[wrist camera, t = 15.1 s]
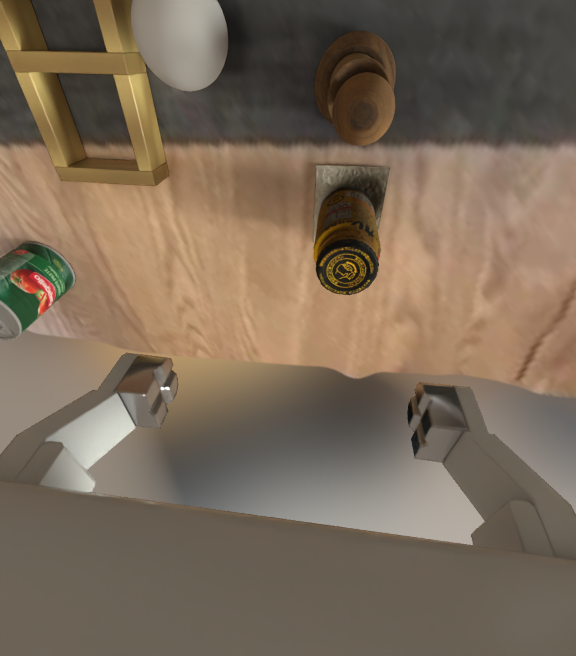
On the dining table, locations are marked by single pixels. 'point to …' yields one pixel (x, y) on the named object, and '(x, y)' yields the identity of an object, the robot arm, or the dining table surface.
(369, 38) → the mortar and pestle
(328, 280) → the condiment
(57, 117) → the rack
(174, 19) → the lightbulb
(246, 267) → the dining table surface
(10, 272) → the canned tomato
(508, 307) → the dining table surface
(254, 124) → the dining table surface
